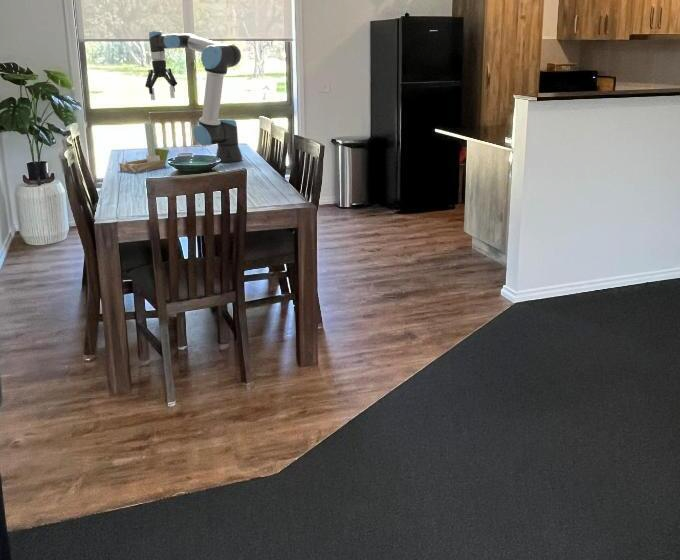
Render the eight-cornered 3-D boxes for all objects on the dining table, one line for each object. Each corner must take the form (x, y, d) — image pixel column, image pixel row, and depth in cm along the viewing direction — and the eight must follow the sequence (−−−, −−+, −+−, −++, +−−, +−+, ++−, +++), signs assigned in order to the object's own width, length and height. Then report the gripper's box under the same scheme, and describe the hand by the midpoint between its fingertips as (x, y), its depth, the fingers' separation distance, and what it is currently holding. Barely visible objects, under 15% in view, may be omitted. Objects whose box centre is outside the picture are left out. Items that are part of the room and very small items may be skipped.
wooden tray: (165, 167, 405) (164, 160, 403) (136, 172, 391) (135, 165, 390) (149, 165, 414) (148, 158, 413) (120, 170, 400) (119, 163, 399)
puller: (160, 166, 405) (155, 123, 397) (157, 167, 403) (152, 123, 396) (149, 165, 411) (143, 122, 404) (146, 165, 410) (140, 122, 403)
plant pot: (162, 165, 404) (163, 149, 403) (147, 163, 407) (148, 147, 405) (171, 166, 413) (172, 150, 411) (156, 163, 416) (158, 148, 414)
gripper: (172, 59, 424) (176, 96, 430) (135, 61, 406) (140, 100, 413) (180, 58, 419) (184, 97, 426) (143, 61, 401) (148, 101, 408)
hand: (163, 99), depth 419 cm, fingers open, 13 cm apart
